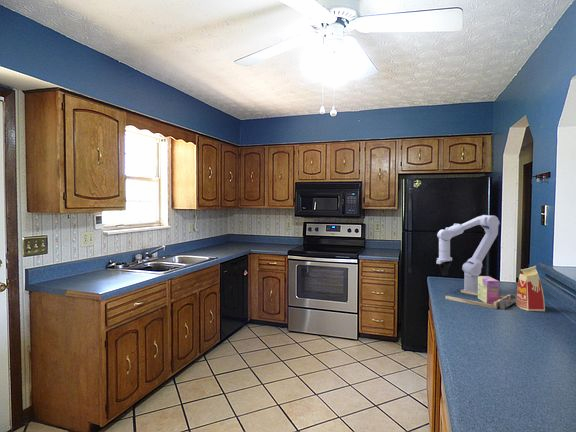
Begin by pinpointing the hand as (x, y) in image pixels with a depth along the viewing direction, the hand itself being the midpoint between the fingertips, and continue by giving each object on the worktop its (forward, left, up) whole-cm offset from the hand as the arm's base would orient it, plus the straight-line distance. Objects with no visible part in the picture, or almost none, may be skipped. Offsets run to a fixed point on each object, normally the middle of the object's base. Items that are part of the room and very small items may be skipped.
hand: (444, 275), depth 196 cm
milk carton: (+1, +41, -10) cm, 42 cm away
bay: (+4, +21, -9) cm, 23 cm away
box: (+3, +24, -10) cm, 26 cm away
